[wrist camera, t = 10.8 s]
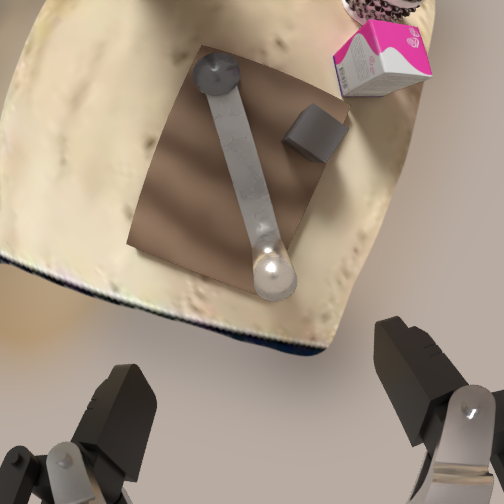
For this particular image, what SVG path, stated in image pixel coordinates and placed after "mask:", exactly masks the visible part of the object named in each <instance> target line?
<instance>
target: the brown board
mask: <svg viewBox="0 0 504 504" xmlns="http://www.w3.org/2000/svg"><path fill="white" fill-rule="evenodd" d="M211 53H225V54H228V55H230V56H231V57H233V58H234V59H235V60H236V61H237V63H238V65H239V68H240V78H241V87H240V90H239V94H240V97H241V100H242V104H243V107H244V110H245V113H246V117H247V120H248V123H249V127H250V130H251V133H252V137H253V140H254V143H255V147H256V150H257V154H258V157H259V161H260V164H261V168H262V171H263V175H264V178H265V182H266V185H267V189H268V192H269V196H270V200H271V203H272V207H273V211H274V214H275V218H276V222H277V226H278V229H279V233H280V237H281V240H282V242H283V244H284V247H285V249H286V251H287V249H288V246H289V244H290V242H291V240H292V238H293V236H294V234H295V231H296V229H297V227H298V225H299V223H300V221H301V218H302V216H303V214H304V212H305V210H306V207H307V205H308V203H309V201H310V199H311V196H312V194H313V192H314V190H315V188H316V185H317V183H318V181H319V179H320V176H321V174H322V172H323V170H324V167H325V165H326V163H327V161H328V159H329V158H330V156H331V155H332V153H333V152H334V150H335V149H336V147H337V146H338V144H339V143H340V141H341V140H342V138H343V137H344V135H345V134H346V132H347V131H348V128H347V127H346V126H344V125H343V123H344V121H345V118H346V116H347V114H348V111H349V109H350V106H351V105H350V104H348V103H346V102H344V101H342V100H340V99H339V98H337V97H335V96H333V95H331V94H329V93H327V92H325V91H323V90H321V89H319V88H316V87H314V86H312V85H310V84H308V83H306V82H303V81H301V80H299V79H297V78H294V77H292V76H290V75H287V74H285V73H283V72H280V71H278V70H275V69H273V68H270V67H267V66H265V65H262V64H259V63H257V62H254V61H251V60H248V59H245V58H242V57H239V56H236V55H233V54H230V53H227V52H224V51H220V50H217V49H214V48H210V47H206V46H203V45H202V46H201V48H200V50H199V52H198V54H197V56H196V58H195V60H194V62H193V64H192V66H191V68H190V70H189V72H188V74H187V76H186V78H185V80H184V83H183V85H182V87H181V89H180V91H179V93H178V96H177V98H176V100H175V103H174V105H173V107H172V109H171V112H170V114H169V117H168V119H167V122H166V124H165V126H164V129H163V131H162V134H161V137H160V139H159V142H158V144H157V147H156V150H155V153H154V155H153V158H152V161H151V164H150V167H149V170H148V172H147V175H146V178H145V181H144V184H143V188H142V191H141V194H140V197H139V200H138V204H137V207H136V210H135V214H134V217H133V221H132V224H131V228H130V232H129V236H128V239H127V243H126V244H127V245H130V246H132V247H135V248H137V249H139V250H142V251H144V252H147V253H149V254H152V255H154V256H157V257H159V258H162V259H164V260H167V261H169V262H172V263H174V264H177V265H179V266H182V267H184V268H187V269H189V270H192V271H195V272H197V273H200V274H202V275H205V276H208V277H210V278H213V279H215V280H218V281H221V282H223V283H226V284H229V285H231V286H234V287H237V288H240V289H242V290H245V291H248V292H251V293H253V294H256V295H258V294H257V292H256V290H255V287H254V276H253V258H252V246H251V243H250V239H249V236H248V233H247V229H246V226H245V223H244V219H243V216H242V213H241V209H240V206H239V203H238V199H237V196H236V192H235V189H234V186H233V182H232V179H231V176H230V172H229V169H228V166H227V162H226V159H225V156H224V152H223V149H222V146H221V142H220V139H219V136H218V132H217V129H216V126H215V122H214V119H213V116H212V112H211V109H210V106H209V102H208V99H206V98H205V97H204V96H203V94H202V93H201V92H200V90H199V89H198V88H197V86H196V85H195V83H194V81H193V75H192V74H193V69H194V66H195V65H196V63H197V62H198V61H199V60H200V59H201V58H202V57H204V56H206V55H208V54H211Z"/></svg>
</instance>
